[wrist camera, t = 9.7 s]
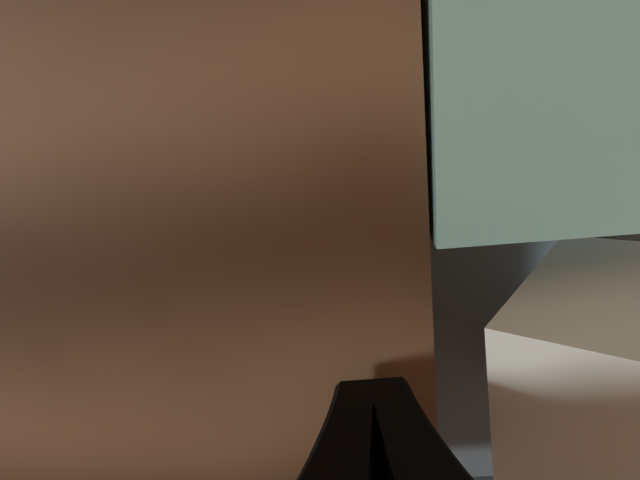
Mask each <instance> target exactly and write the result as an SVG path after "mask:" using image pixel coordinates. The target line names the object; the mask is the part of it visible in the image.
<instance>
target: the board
mask: <svg viewBox="0 0 640 480" xmlns="http://www.w3.org/2000/svg"><path fill="white" fill-rule="evenodd" d="M391 377H403V378H404V379H405V380H406V381H408V384H409V386H410V388H411V390H412V392H413V394H414V396H415V398H416V399H417V401H418V403H419V404H420V406H421V408H422V409H423V411H424V412H425V414H426V416H427V417H428V419H429V420H430V422H431V423H432V425H433V426H434V428H435V429H436V431H437V407H436V382H435V357H434V331H433V306H432V281H431V255H430V230H429V205H428V180H427V154H426V129H425V104H424V78H423V53H422V28H421V3H420V0H0V480H296V479H297V478H298V476H299V474H300V472H301V470H302V468H303V467H304V465H305V463H306V461H307V459H308V457H309V454H310V452H311V450H312V448H313V446H314V444H315V441H316V439H317V437H318V435H319V433H320V430H321V428H322V426H323V423H324V421H325V418H326V416H327V413H328V410H329V407H330V404H331V401H332V398H333V395H334V390H335V386H336V385H337V384H338V383H339V382H340V381H349V380H363V379H377V378H391Z"/></svg>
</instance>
